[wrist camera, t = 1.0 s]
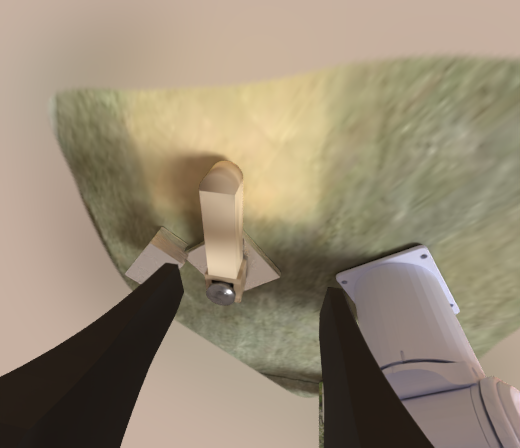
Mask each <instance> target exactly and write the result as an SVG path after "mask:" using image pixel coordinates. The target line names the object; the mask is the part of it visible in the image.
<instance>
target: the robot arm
mask: <svg viewBox="0 0 520 448" xmlns="http://www.w3.org/2000/svg"><path fill="white" fill-rule="evenodd" d="M423 254H425V255H423ZM421 255H423V256H421ZM336 280H337V281H338V282H339V284H340V285H341V286H342V288H343V289H344V290H345V291H346V293H347V294H348V295H349V296H350V298H351V299H352V300H353V302H354V303H355V304H356V310H357V316H358V323H359V327H358V324H357V322H356V320H355V318H354V315H353V313H352V311H351V308H350V306H349V303H348V301H347V298H346V296H345V293H344V291H343V290H342V289H338V288H331V287H328V289H327V292H326V296H325V299H324V302H323V305H322V308H321V312H320V322H319V341H320V353H321V365H322V377H323V389H324V448H520V392H519V391H518V390H517V389H516V388H514V387H513V386H511V385H509V384H507V383H505V382H503V381H502V380H500V379H499V378H497V377H494V376H490V377H486V376H485V374H484V372H483V370H482V368H481V366H480V364H479V362H478V360H477V358H476V356H475V354H474V352H473V350H472V348H471V346H470V344H469V342H468V340H467V338H466V336H465V334H464V332H463V330H462V328H461V326H460V324H459V322H458V320H457V318H456V315H455V314H457V313H459V311H460V310H459V308H458V306H457V304H456V302H455V300H454V298H453V296H452V295H451V293H450V291H449V289H448V287H447V285H446V283H445V281H444V279H443V277H442V275H441V274H440V272H439V270H438V268H437V266H436V264H435V262H434V260H433V258H432V256H431V254H430V252H429V251H428V249H427V247H426V246H424V245H419V246H416V247H413V248H410V249H407V250H404V251H402V252H399V253H396V254H393V255H390V256H387V257H384V258H381V259H378V260H375V261H372V262H370V263H367V264H364V265H361V266H358V267H355V268H352V269H349V270H346V271H343V272H341V273H338V274H337V275H336ZM344 280H345V281H344ZM183 293H184V290H183V285H182V280H181V276H180V271H179V267H178V264H173V263H164V264H163V265H162V266H161V267H160V268H159V269H158V270H157V271H155V272H154V273H153V274H152V275H151V276H150V277H149V278H148V279H146V280H145V281H144V282H143V283H142V284H141V285H140V286H139V287H137V288H136V289H135V290H134V291H133V292H132V293H130V294H129V295H128V296H127V297H126V298H124V299H123V300H122V301H121V302H119V304H117V305H116V306H114V307H113V308H112V309H111V310H109V311H108V312H107V313H105V314H104V315H103V316H101V317H100V318H99V319H97V320H96V321H95V322H93V323H92V324H90V325H89V326H88V327H86V328H84V329H83V330H81V331H80V332H78V333H77V334H75V335H74V336H72V337H71V338H69V339H68V340H66V341H64V342H63V343H61V344H60V345H58V346H56V347H55V348H53V349H51V350H49V351H48V352H46V353H44V354H42V355H41V356H39V357H37V358H35V359H33V360H32V361H30V362H28V363H26V364H25V365H23V366H21V367H19V368H17V369H15V370H13V371H11V372H9V373H7V374H5V375H3V376H1V377H0V448H120V446H121V443H122V439H123V437H124V434H125V431H126V428H127V425H128V422H129V419H130V417H131V414H132V411H133V408H134V406H135V403H136V400H137V398H138V395H139V392H140V390H141V387H142V385H143V382H144V379H145V377H146V374H147V372H148V369H149V367H150V364H151V363H152V360H153V358H154V356H155V354H156V352H157V350H158V348H159V346H160V344H161V342H162V340H163V338H164V336H165V334H166V332H167V331H168V328H169V327H170V325H171V322H172V321H173V319H174V317H175V314H176V312H177V310H178V307H179V305H180V302H181V299H182V296H183Z"/></svg>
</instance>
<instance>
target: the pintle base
mask: <svg viewBox="0 0 520 448" xmlns="http://www.w3.org/2000/svg"><path fill="white" fill-rule="evenodd" d="M186 253H188V254H189V256H188V258H187V260H188V261H189V262H190V263H191V264H192V265H193V266H194V267H196V268H197V269H198V270H199V271H200V272H201V273H202V274H203V275H204V276H205V272H206V270H207V268H208V266H207V257H206V248H205V241H203V242H201V243H199V244H198V245H196V246H194V247H192V248H190V249H189V250H187V251H186ZM243 259H245V260H246V284H245V288H244V291H246V290H248V289H251V288H254V287H256V286H259V285H262V284H264V283H267V282H270V281H272V280H275V279H277V278H280V274H281V271H280V270H279V269H278V268H277V267H276V266H275V265H274V263H273V262H272V261H271V260H270V259H269V258H268V257H267V256H266V255H265V254H264V252H263V251H262V250H261V249H260V248H259V247H258V246H257V245H256V244H255V242H254V241H253V240H252V239H251V238H250V237H249V236H248V235H247V234H246V233H245V231H244V230H243ZM232 285H233V283H228V282H222V281H218V282H217V283H212V284H210V285H209V287H208V289H207V291H206V294H207V297H208V298H209V299H210V300H211V301H212V302H214V303H216V304H219V305H230V304H232V303H233V302H234V301H235V297H236V293H235V291H234V289H233V288H232Z"/></svg>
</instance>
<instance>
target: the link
mask: <svg viewBox="0 0 520 448" xmlns="http://www.w3.org/2000/svg"><path fill="white" fill-rule="evenodd" d="M199 194H200V203H201V212H202V221H203V230H204V239H205V248H206V257H207V266H208V268H207V270H206V272H205V282H206V290H207V289H208V287H209V285H210V284H212V283H217V282H218V281H222V282H228V283H233V285H232V288H233V289H234V291H235V293H236V297H235V301H234V302H239V303H240V302H241V298H242V295H243V291H244V288H245V284H246V260H245V259H243V174H242V171H241V170H240V168H239V167H238V166H237V165H236V164H234V163H232V162H230V161H219V162H217V163H216V164H214V166H213V167H212V168H211V169H210V171H209V172H208V173H207V175H206V176H205V177H204V179H203V180H202V181H201V183H200V185H199Z"/></svg>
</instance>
